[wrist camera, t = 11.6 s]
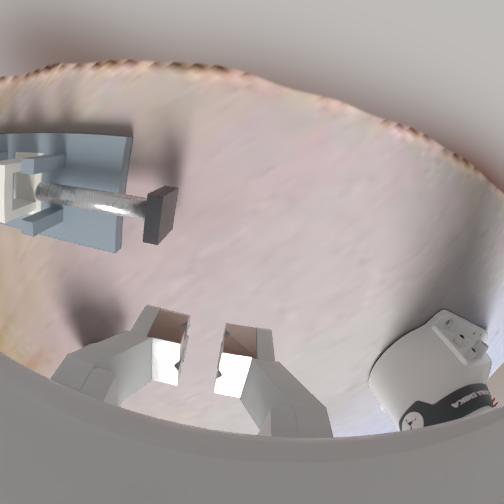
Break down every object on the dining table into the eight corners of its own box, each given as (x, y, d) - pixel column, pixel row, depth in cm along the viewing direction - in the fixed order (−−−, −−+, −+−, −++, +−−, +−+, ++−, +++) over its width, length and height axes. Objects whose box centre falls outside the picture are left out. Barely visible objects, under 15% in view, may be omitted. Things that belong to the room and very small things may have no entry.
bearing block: (133, 137, 22) (98, 136, 16) (120, 248, 26) (90, 275, 20) (-8, 134, 20) (-43, 139, 14) (-11, 215, 24) (-42, 229, 18)
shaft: (178, 188, 22) (163, 196, 18) (172, 228, 23) (157, 245, 20) (53, 170, 21) (26, 176, 17) (51, 205, 22) (25, 215, 18)
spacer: (16, 205, 22) (-14, 217, 18) (18, 157, 21) (-14, 163, 16) (36, 209, 23) (4, 223, 18) (38, 159, 21) (5, 165, 16)
